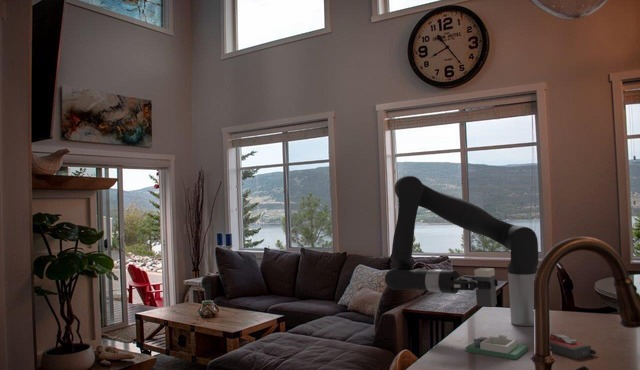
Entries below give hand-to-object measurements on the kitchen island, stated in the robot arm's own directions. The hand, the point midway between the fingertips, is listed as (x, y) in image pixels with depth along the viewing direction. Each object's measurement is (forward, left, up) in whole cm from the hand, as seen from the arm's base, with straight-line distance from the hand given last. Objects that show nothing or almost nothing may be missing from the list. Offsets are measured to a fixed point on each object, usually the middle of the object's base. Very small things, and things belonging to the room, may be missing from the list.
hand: (494, 284), depth 150 cm
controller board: (+9, +3, -17) cm, 20 cm away
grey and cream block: (0, -3, -7) cm, 7 cm away
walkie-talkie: (-2, +17, -18) cm, 25 cm away
